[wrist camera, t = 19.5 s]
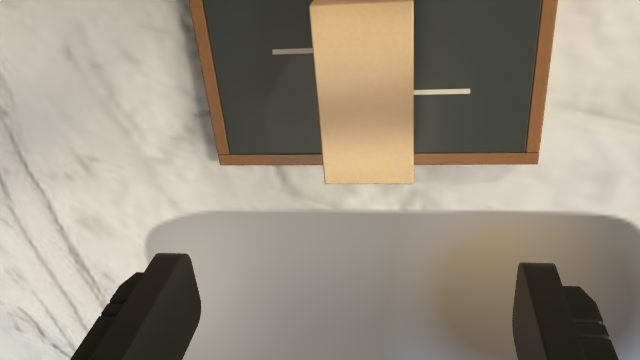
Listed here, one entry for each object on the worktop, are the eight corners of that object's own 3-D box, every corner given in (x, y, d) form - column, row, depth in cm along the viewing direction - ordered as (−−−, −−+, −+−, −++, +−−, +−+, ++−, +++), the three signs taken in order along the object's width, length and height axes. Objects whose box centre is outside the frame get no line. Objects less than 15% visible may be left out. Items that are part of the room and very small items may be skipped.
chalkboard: (191, -29, 33) (183, -25, 32) (559, -51, 29) (564, -48, 28) (225, 157, 39) (219, 165, 38) (534, 155, 35) (538, 164, 34)
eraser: (320, -12, 31) (308, 5, 27) (413, -18, 30) (413, 0, 27) (333, 152, 36) (324, 184, 32) (413, 151, 35) (413, 184, 32)
